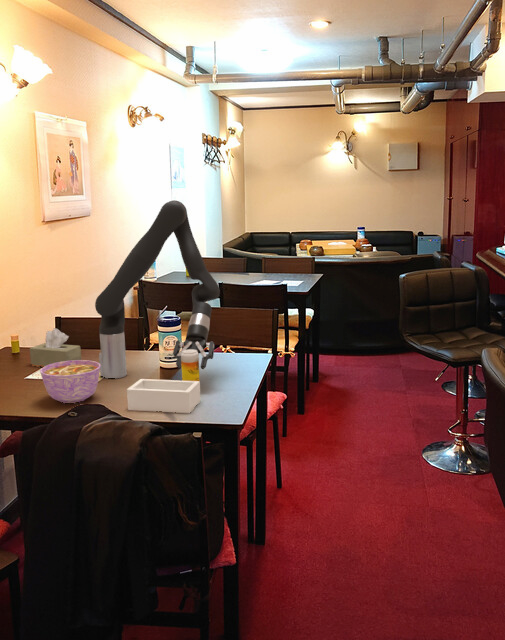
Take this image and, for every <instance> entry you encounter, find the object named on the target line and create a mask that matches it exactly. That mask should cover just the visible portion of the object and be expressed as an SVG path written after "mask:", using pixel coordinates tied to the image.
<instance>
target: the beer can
mask: <svg viewBox="0 0 505 640" xmlns="http://www.w3.org/2000/svg"><path fill="white" fill-rule="evenodd" d="M199 354H200V353H199ZM199 354H198V352H197V350H194V349H188V350H183V351H182V354H181V381H200V357H199Z"/></svg>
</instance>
